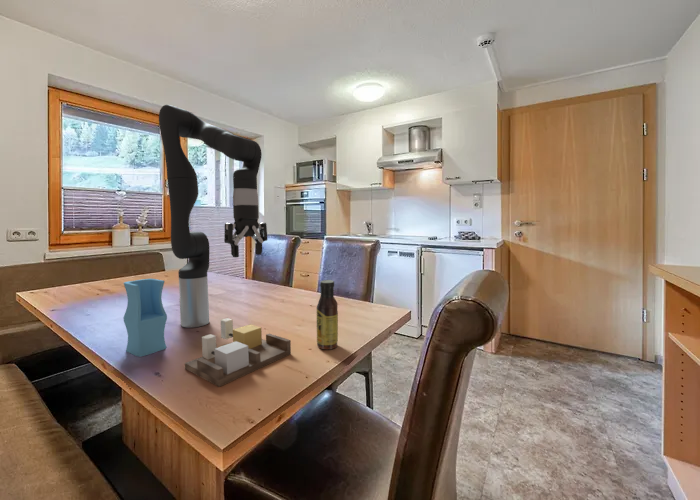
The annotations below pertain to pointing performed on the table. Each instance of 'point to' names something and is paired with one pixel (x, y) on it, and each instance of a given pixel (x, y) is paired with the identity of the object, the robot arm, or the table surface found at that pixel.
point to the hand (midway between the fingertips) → (247, 255)
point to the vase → (145, 317)
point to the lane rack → (258, 358)
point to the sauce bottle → (327, 317)
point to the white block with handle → (225, 354)
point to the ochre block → (241, 333)
